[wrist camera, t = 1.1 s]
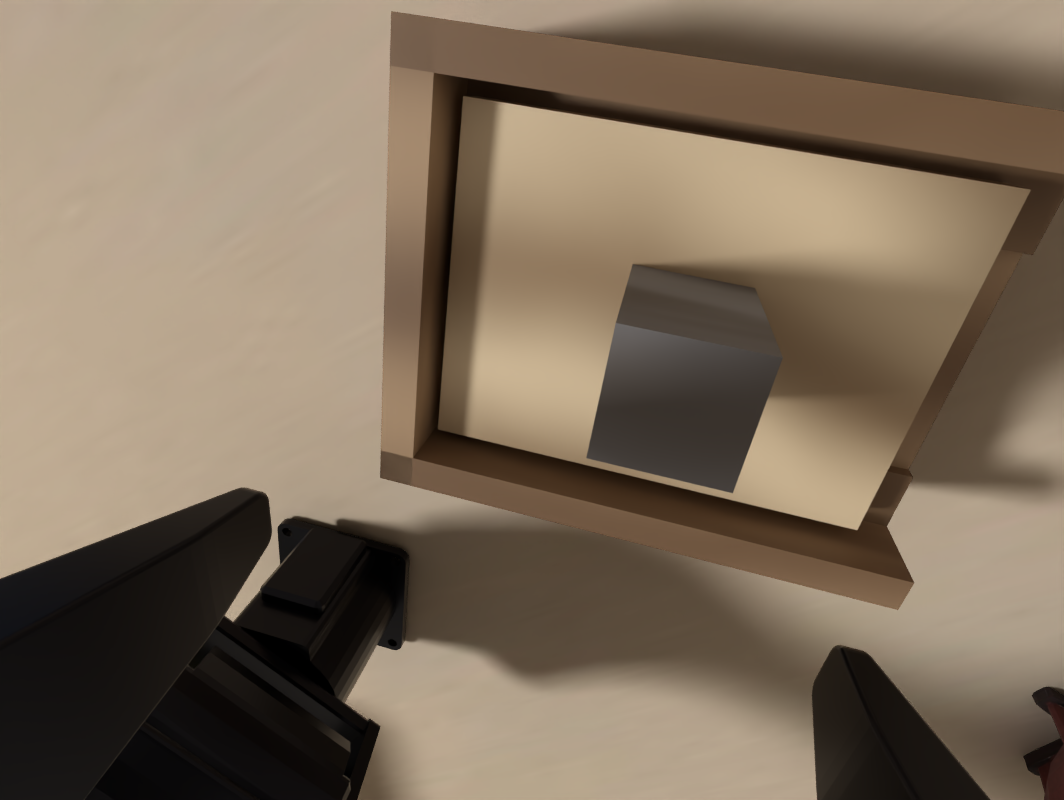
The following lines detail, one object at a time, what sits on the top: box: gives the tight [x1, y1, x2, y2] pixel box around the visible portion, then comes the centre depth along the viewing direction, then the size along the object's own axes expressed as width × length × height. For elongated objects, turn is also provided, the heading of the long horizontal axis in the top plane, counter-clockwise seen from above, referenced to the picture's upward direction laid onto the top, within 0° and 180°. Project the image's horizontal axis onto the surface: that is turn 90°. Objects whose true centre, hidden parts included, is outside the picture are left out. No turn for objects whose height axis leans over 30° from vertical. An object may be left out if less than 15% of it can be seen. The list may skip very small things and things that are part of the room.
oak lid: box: [438, 96, 1031, 530], centre depth 14 cm, size 9×12×6 cm
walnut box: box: [380, 11, 1064, 610], centre depth 17 cm, size 12×15×6 cm
